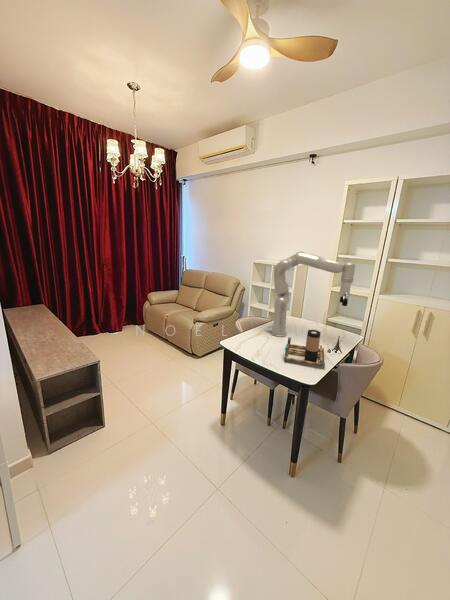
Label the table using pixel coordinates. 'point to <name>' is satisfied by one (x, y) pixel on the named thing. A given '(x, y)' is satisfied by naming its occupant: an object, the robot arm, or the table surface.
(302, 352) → the brown low piece
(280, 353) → the table surface
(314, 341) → the travel mug
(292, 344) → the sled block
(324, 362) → the lane frame
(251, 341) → the table surface
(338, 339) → the eiffel tower figurine
